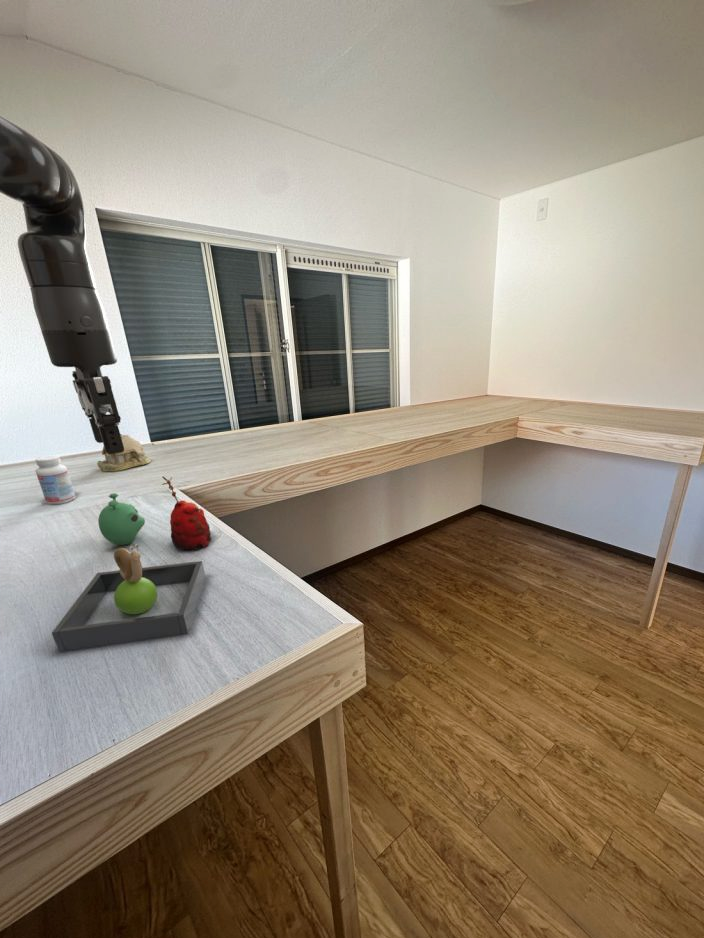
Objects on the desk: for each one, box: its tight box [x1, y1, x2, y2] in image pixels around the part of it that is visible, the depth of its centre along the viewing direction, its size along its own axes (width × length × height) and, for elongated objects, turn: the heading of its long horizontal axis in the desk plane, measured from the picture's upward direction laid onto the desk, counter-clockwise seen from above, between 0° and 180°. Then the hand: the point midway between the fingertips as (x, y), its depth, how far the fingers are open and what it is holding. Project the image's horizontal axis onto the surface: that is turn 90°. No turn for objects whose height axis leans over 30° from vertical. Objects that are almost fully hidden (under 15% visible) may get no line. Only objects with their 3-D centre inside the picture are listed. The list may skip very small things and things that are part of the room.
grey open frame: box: [51, 560, 207, 654], centre depth 61 cm, size 16×15×4 cm
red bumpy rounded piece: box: [161, 475, 212, 551], centre depth 79 cm, size 8×7×15 cm
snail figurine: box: [113, 543, 158, 615], centre depth 59 cm, size 5×6×12 cm
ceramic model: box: [96, 433, 152, 472], centre depth 130 cm, size 14×11×10 cm
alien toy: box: [97, 492, 146, 546], centre depth 81 cm, size 7×8×10 cm
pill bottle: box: [34, 454, 77, 505], centre depth 102 cm, size 6×6×11 cm
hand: (109, 447), depth 61 cm, fingers open, 8 cm apart
